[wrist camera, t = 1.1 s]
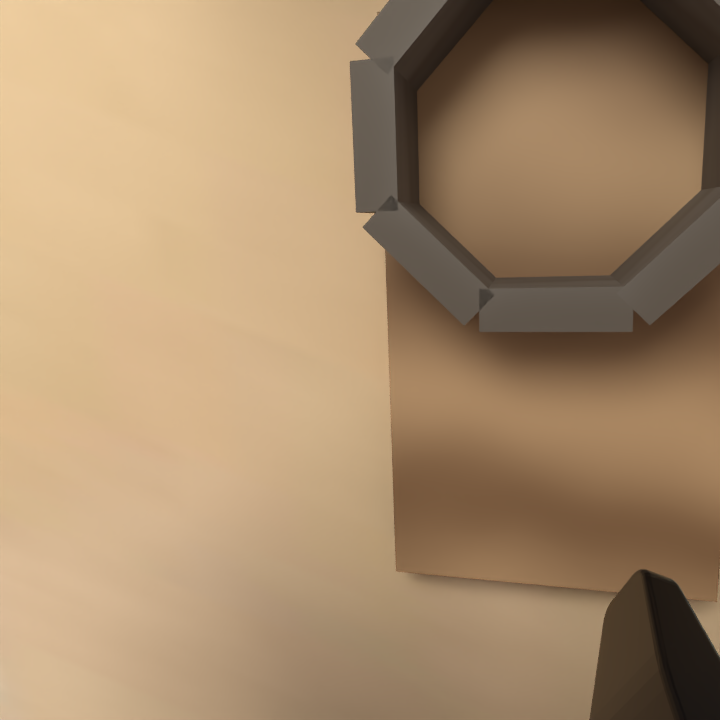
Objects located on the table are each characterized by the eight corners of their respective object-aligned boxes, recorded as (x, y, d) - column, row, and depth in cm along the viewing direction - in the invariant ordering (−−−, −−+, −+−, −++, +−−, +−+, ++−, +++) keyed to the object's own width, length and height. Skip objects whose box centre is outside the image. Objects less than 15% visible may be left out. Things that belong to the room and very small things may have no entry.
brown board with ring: (703, 573, 20) (749, 671, 15) (405, 548, 22) (373, 627, 18) (746, -60, 16) (819, -158, 12) (388, -11, 19) (344, -79, 14)
